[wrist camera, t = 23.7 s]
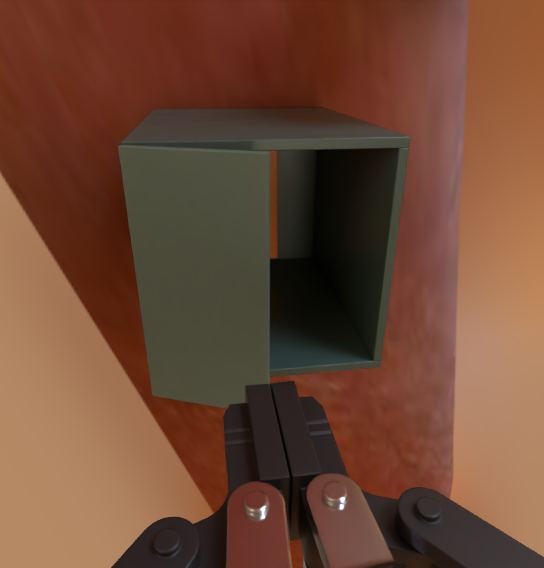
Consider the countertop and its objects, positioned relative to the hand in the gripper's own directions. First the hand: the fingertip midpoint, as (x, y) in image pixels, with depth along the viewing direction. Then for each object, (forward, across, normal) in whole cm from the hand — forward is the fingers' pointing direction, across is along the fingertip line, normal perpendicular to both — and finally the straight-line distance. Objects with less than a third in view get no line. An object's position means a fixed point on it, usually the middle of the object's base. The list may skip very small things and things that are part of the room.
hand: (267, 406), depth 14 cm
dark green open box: (+26, -2, 0) cm, 26 cm away
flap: (+8, +2, 0) cm, 8 cm away
